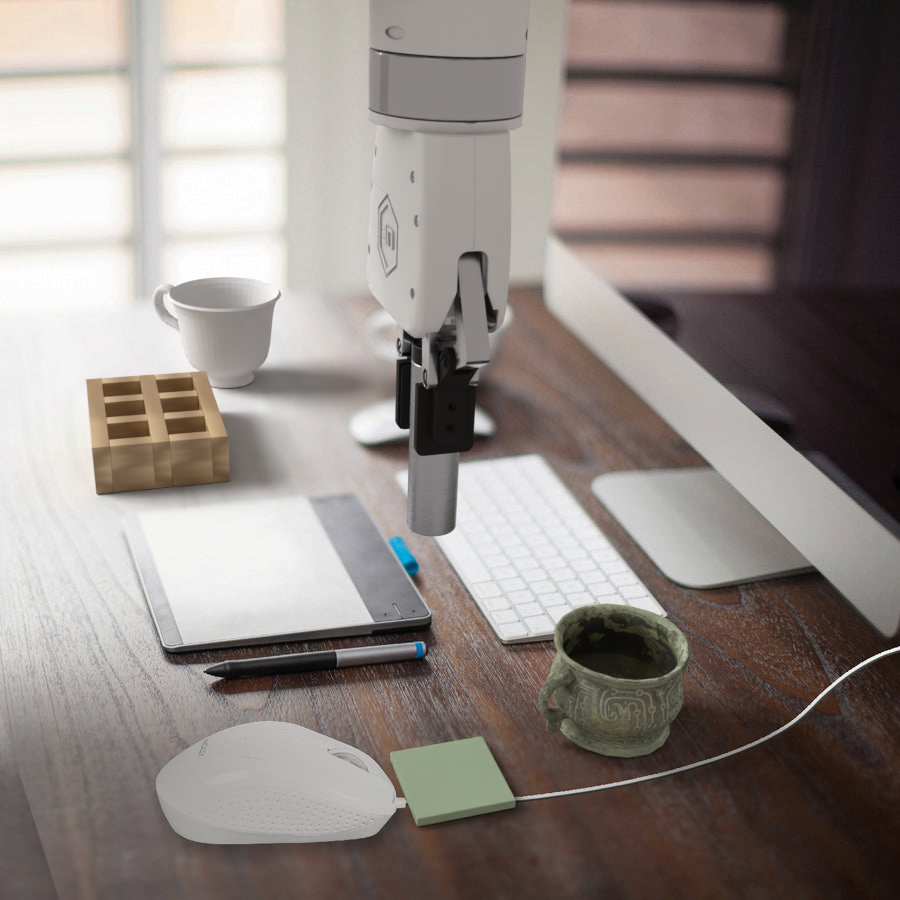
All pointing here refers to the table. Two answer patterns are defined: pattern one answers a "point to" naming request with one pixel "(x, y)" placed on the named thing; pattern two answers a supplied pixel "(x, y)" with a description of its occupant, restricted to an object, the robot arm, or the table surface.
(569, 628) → the vessel
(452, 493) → the steel peg
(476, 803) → the mat
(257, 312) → the teacup
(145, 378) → the desk rack
